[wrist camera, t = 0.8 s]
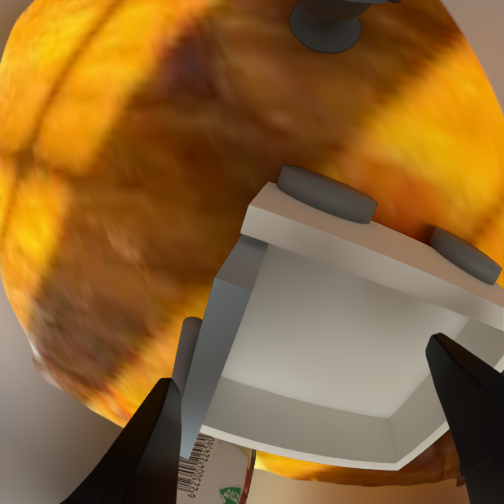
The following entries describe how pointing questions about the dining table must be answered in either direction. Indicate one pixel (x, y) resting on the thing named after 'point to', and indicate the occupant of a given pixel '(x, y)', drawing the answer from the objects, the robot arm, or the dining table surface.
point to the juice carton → (215, 472)
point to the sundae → (329, 23)
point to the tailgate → (214, 336)
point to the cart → (348, 329)
